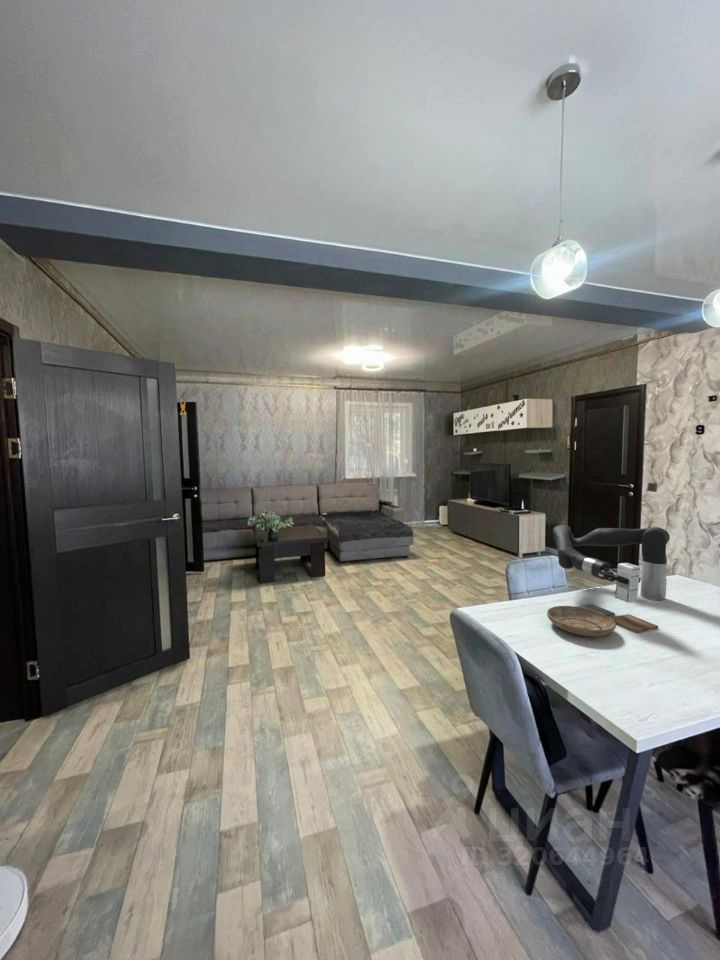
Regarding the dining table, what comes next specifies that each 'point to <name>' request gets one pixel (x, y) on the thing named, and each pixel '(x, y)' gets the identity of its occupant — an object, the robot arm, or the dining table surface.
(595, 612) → the ceramic bowl
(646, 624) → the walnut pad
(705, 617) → the dining table surface
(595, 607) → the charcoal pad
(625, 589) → the syrup box
